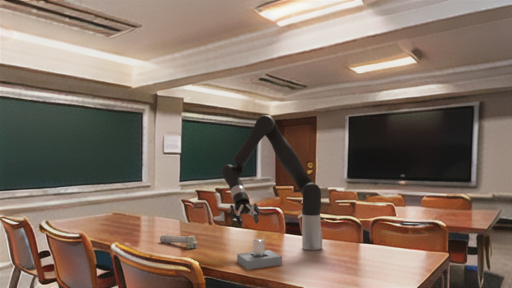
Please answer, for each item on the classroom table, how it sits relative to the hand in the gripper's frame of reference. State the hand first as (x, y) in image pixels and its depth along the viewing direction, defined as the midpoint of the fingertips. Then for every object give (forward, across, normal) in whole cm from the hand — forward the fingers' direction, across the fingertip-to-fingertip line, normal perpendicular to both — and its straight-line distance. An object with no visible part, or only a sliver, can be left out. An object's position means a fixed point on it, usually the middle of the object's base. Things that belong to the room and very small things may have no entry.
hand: (248, 223), depth 166 cm
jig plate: (+19, 0, +3) cm, 19 cm away
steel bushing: (+19, 0, +3) cm, 19 cm away
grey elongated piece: (-14, -25, +37) cm, 47 cm away
